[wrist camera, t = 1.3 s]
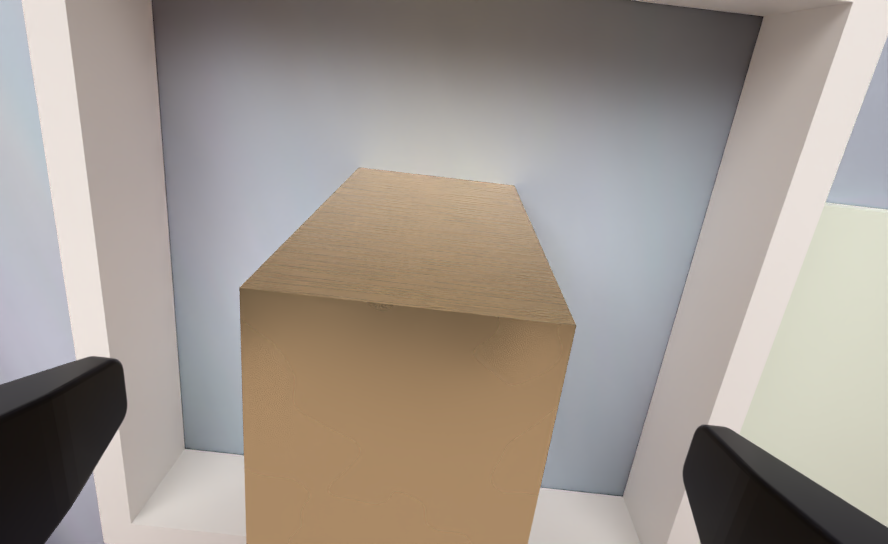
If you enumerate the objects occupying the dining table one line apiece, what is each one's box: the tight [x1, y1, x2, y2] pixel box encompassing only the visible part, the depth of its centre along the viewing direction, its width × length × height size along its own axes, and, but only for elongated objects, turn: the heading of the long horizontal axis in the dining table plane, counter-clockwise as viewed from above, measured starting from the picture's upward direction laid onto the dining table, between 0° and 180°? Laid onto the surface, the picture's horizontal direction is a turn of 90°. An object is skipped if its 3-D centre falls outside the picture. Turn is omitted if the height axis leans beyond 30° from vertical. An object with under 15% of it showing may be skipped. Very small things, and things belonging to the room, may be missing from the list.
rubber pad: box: [699, 202, 888, 544], centre depth 16 cm, size 11×14×1 cm
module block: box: [240, 168, 576, 544], centre depth 11 cm, size 4×5×8 cm
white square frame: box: [22, 0, 888, 544], centre depth 13 cm, size 16×16×3 cm
